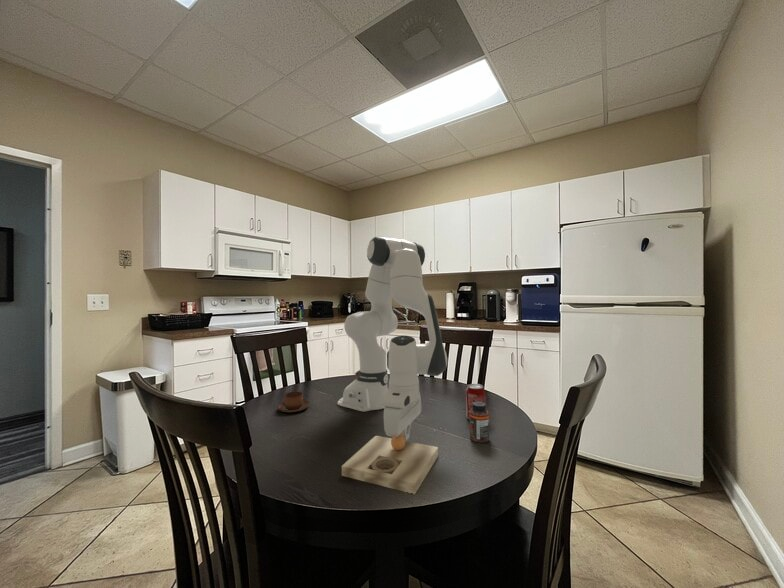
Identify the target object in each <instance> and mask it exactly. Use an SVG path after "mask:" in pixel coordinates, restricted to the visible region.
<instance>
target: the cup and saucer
mask: <svg viewBox="0 0 784 588" xmlns="http://www.w3.org/2000/svg"><path fill="white" fill-rule="evenodd" d="M302 405H305V407H304V408H301V409H299V408H300V407H301V406H302ZM309 405H310V402H309V400H308V401H307V400H304V393H303V392H301V391H290V392H287V393H284V395H283V402H282V403H280V404H279V405H278V406H277V407H278V410H279V411H280V412H283V413H298V412H301V411H304V410H305V409H307V408H308V407H309ZM282 406H285V407H286V409H288V410H282V409H281V407H282ZM297 411H298V412H297Z"/></svg>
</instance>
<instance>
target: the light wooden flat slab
mask: <svg viewBox="0 0 784 588" xmlns="http://www.w3.org/2000/svg"><path fill="white" fill-rule="evenodd" d="M392 438H393V437H392ZM392 438H391V437H385V436H382V435H381V436H380V435H375V436H374V437H372V438H371V439H370V440H368V441H367V443H365V444H364V445H363V446H362V447H361V448H360V449H359V450H357V451H356V452H355V453H354V454H353V455H352V456H351V457H350V458H349V459H347V461H345V463H343V464H342V465H341V477H346V478H350V479H353V480H357V481H362V482H365V483H369V484H373V485H376V486H382V487H385V488H389V489H392V490H396V491H400V492H404V493H407V492H408V493H407V494H411V493H413V494H412V495H416V493H417V492H418V490H419V489H420V486H421V485H422V483H423V481H425V479H426V477H427V475H428V474H429V472H430V470H431V469H432V467H433V466H434V464H435V462H436V461H437V458H439V447H438V446H434V445H429V444H423V443H418V442H412V441H408V440H406V441H405V446H404V447H403V449H401V450H395V449H394V448H393V447H392V445H391V439H392Z"/></svg>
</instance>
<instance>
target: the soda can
mask: <svg viewBox="0 0 784 588" xmlns="http://www.w3.org/2000/svg"><path fill="white" fill-rule="evenodd" d="M473 402H483V403H485V404H486V390H485V389H484V385H482V384H480V383H470V384H468V385H467V387H466V389H465V403H466V404H465V406H466V407H465V408H466V409H465V410H466V411H465V412H466V415H465V416H466V418H467V419H468V420H470V410H471V409H472V408H473V407H472V406H473Z"/></svg>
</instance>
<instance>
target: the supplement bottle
mask: <svg viewBox="0 0 784 588" xmlns="http://www.w3.org/2000/svg"><path fill="white" fill-rule="evenodd" d="M486 405H487V404H486V402H485V403H483V402H473V406H472V407H473V408H472V409H471V410H470V419H469V438H470V440H471V441H473V442H476V443H480V444H481V443H488V442H489V440H490V412H489V411H488V409H486V408H487V406H486Z"/></svg>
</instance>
